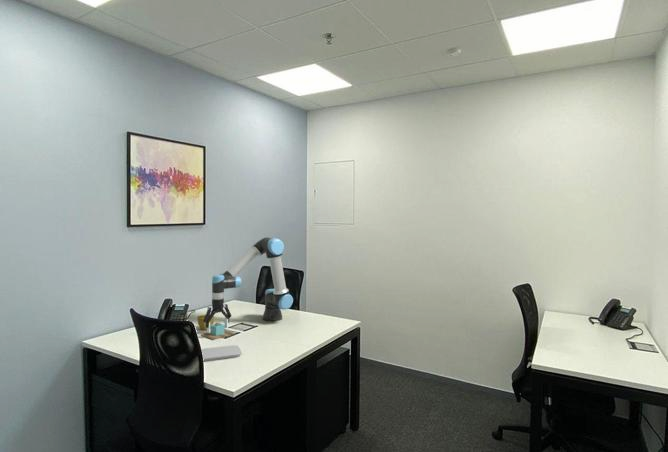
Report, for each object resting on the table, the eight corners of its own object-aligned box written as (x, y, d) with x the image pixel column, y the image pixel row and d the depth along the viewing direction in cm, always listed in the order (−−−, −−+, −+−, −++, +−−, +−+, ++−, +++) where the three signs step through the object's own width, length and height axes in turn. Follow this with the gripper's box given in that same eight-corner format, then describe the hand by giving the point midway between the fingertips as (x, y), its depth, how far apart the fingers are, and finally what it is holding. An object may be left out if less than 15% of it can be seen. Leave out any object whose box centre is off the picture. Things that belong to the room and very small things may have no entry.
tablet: (191, 353, 220) (191, 350, 220) (237, 348, 231) (237, 344, 231) (194, 364, 206) (194, 359, 205) (242, 357, 216) (242, 353, 216)
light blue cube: (218, 331, 259) (218, 322, 258) (224, 333, 254) (224, 324, 254) (210, 333, 254) (210, 324, 253) (216, 335, 250) (216, 326, 249)
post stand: (221, 330, 265) (221, 319, 264) (233, 334, 256) (234, 322, 256) (200, 335, 252) (200, 323, 252) (212, 340, 243) (213, 328, 243)
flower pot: (214, 329, 267) (214, 316, 266) (203, 331, 260) (203, 318, 260) (208, 326, 273) (208, 314, 272) (196, 329, 266) (196, 316, 266)
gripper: (230, 294, 265) (229, 325, 266) (197, 300, 246) (197, 333, 247) (236, 296, 261) (236, 327, 261) (204, 302, 241) (203, 335, 242)
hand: (217, 330), depth 254 cm, fingers open, 13 cm apart
